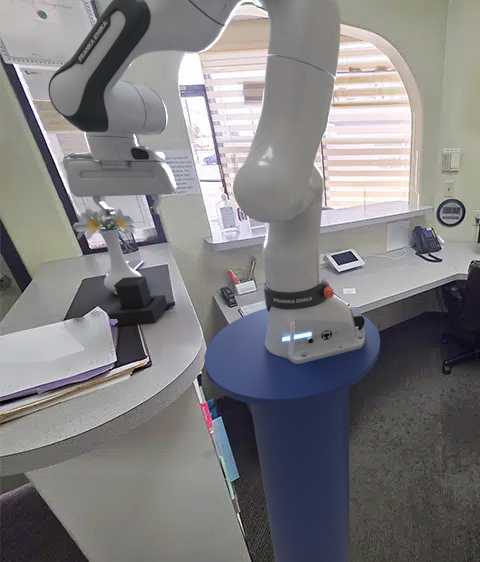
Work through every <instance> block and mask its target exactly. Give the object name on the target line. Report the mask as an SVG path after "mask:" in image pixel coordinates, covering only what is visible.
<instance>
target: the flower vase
mask: <svg viewBox="0 0 480 562" xmlns="http://www.w3.org/2000/svg"><path fill="white" fill-rule="evenodd" d="M114 212H115V216H110V217H105V216H104V213H103V210H102V209H101V208H100V209H99V210H98V211H94V209H92V208H87V209H85V211H84V212H82V213H81V214H80V212H79V211H76V214H75V215H76V218H77V220H78V222H75V223H73V225H72V229H73V230H74V231H75V232H78V233H77V236H76V240H77V241H78V240H80V239H81V238H82V236H84V234H85V239H86V240H90V239H91V238H92V237H93V236H94V234H95V233H96V232H97V231H98V233H99V234H100V235H101V237H102V239H103V241H104V242H105V246H106V249H107V251H108V257H109V260H110V269H109V271H110V272H109V271H108V272H109V273H108V275H107V276H105V277H104V279H103V285H104V288H106V289H107V290H109V291H111V292H113V294H114V295H117V291H116V288H115V287H114V285H115V284H116V283H117V282H118V281H120V280H121V279H122V278H127V277H143V275H142V274H141V273H140V272H139V271H137V270H134V269H132V268H131V267H130V266H129V265H128V264H127V262H126V261H127V260H126V259H125V258H126V257H125V255H124V253H123V250H122V247H121V244H120V238H119V237H120V236H119V232H121V233H123V234H125V235H126V234H129V233H131V234H134V235H135V234H136V231H135V230H134V229H135V226H134V223H135V220H133V219H132V217H131V216H130V215H126V214H124V213H123V211H122V209H121V208H118V209H114ZM117 296H118V295H117Z"/></svg>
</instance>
